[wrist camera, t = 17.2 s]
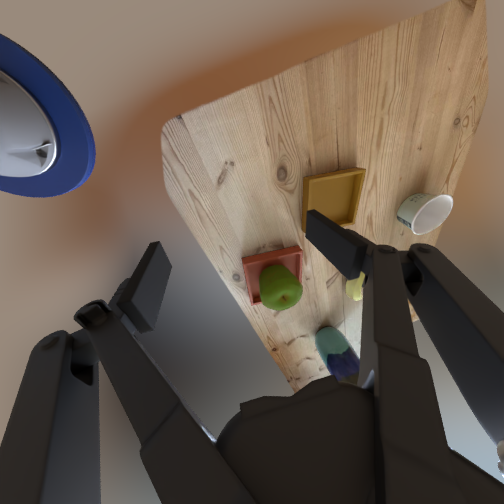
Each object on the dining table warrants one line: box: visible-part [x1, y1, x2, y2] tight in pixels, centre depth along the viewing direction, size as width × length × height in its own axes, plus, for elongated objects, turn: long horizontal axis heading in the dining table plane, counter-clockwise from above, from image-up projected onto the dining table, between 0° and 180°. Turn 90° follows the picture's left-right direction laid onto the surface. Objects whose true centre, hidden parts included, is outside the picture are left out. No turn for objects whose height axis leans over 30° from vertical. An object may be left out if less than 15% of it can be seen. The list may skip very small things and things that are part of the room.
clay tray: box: [242, 245, 303, 306], centre depth 57 cm, size 18×18×3 cm
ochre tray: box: [302, 167, 366, 233], centre depth 47 cm, size 14×14×3 cm
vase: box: [315, 327, 360, 385], centre depth 72 cm, size 14×14×31 cm
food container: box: [397, 193, 453, 235], centre depth 53 cm, size 12×12×6 cm
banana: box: [346, 271, 365, 301], centre depth 66 cm, size 14×6×20 cm
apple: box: [259, 265, 303, 310], centre depth 52 cm, size 12×12×11 cm
